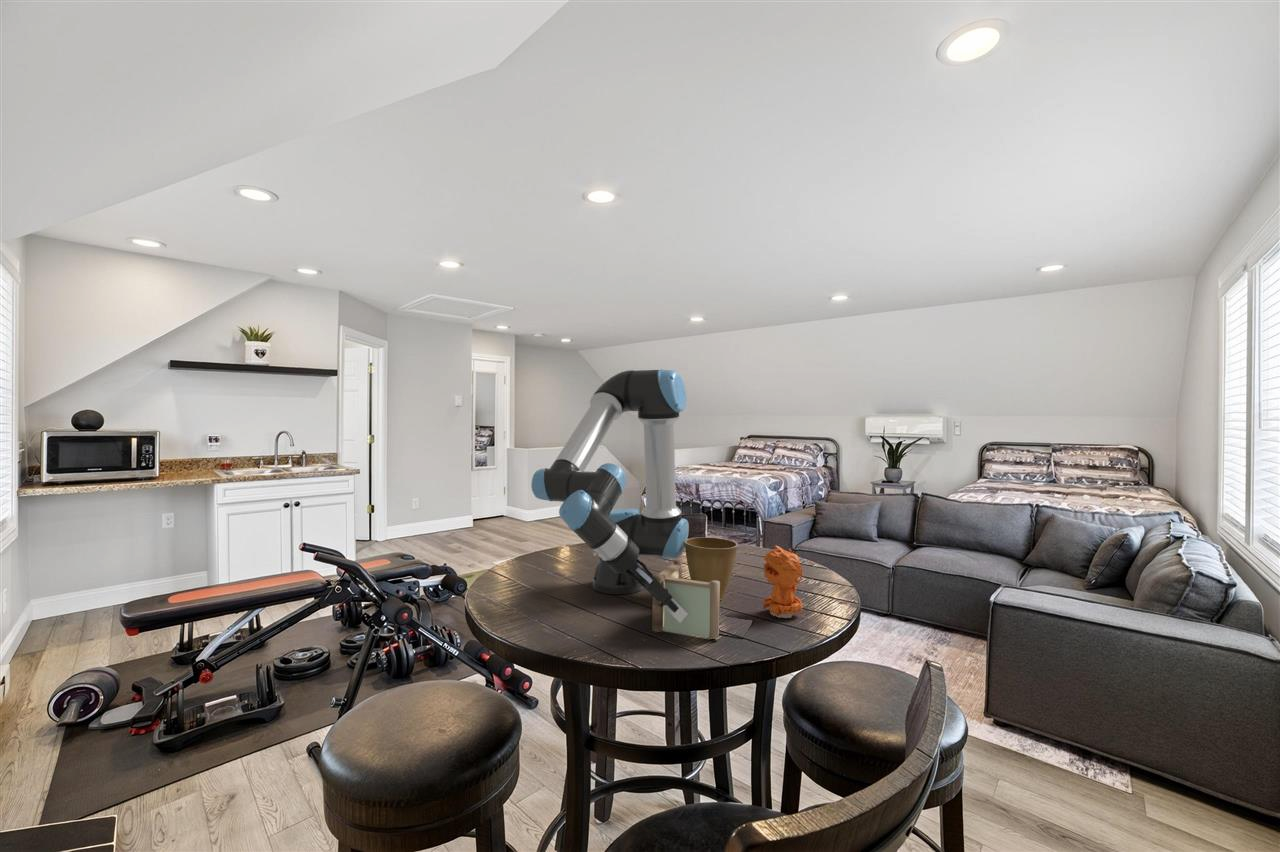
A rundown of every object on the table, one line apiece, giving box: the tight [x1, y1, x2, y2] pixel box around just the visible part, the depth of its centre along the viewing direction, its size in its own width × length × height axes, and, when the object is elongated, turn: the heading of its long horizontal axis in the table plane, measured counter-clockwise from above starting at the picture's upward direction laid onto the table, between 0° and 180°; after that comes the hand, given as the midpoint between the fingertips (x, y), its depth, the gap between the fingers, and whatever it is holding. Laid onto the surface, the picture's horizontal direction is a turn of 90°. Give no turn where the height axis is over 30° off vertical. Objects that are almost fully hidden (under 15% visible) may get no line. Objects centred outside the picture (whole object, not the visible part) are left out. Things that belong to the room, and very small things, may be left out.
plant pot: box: [684, 536, 738, 600], centre depth 154 cm, size 15×15×16 cm
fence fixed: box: [651, 559, 683, 633], centre depth 136 cm, size 16×3×14 cm, turn 156°
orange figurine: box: [762, 545, 804, 616], centre depth 142 cm, size 11×11×18 cm
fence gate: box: [663, 577, 721, 639], centre depth 126 cm, size 13×2×13 cm, turn 68°
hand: (682, 617), depth 125 cm, fingers closed
